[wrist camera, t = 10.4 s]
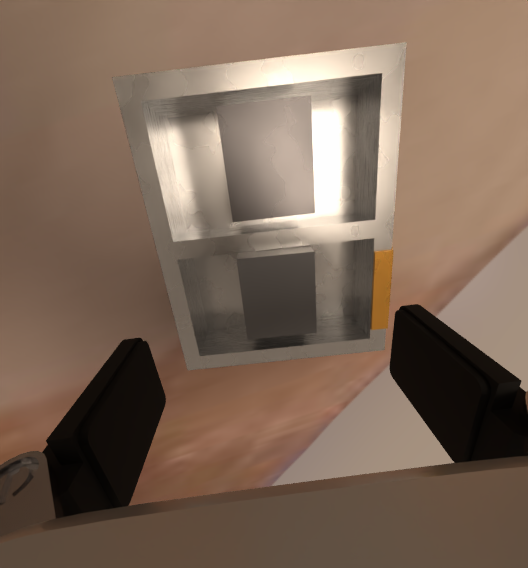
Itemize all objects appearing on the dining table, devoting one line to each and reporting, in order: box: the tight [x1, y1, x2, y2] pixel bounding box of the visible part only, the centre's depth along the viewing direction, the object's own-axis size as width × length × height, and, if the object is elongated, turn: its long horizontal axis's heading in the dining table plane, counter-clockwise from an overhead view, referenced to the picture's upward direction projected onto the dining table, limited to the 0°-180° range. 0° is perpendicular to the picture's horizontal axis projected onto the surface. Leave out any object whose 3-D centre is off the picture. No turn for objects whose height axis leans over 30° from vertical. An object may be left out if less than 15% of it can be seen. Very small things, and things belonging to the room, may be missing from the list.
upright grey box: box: [236, 245, 317, 340], centre depth 16 cm, size 5×4×4 cm
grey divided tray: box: [112, 42, 407, 370], centre depth 16 cm, size 16×13×5 cm
